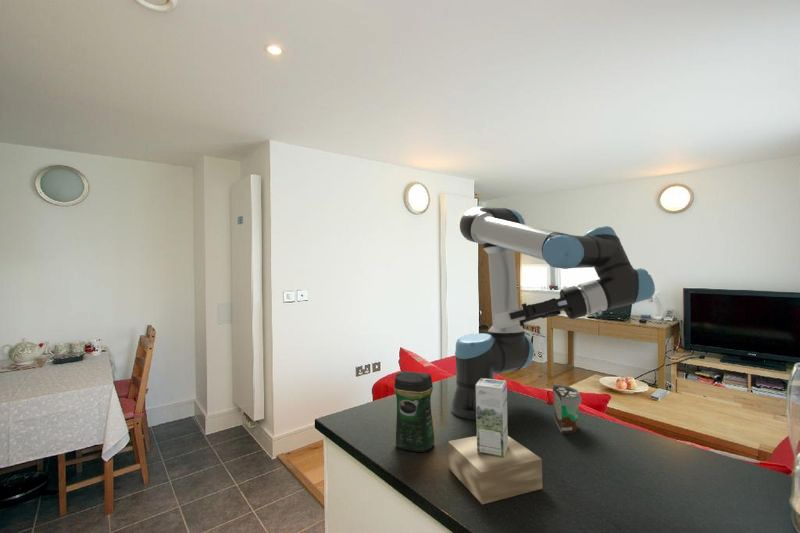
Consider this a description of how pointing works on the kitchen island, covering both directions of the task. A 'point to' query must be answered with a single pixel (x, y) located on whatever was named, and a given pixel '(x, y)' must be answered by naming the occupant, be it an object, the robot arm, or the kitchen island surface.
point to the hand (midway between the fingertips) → (494, 323)
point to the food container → (566, 408)
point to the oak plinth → (495, 470)
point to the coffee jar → (414, 411)
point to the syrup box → (491, 417)
